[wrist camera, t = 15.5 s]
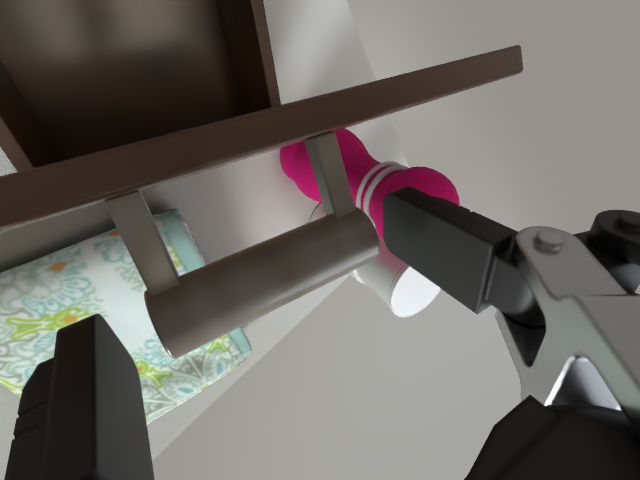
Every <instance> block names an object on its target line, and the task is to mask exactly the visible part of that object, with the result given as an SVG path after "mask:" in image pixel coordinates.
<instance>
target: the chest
mask: <svg viewBox="0 0 640 480" xmlns="http://www.w3.org/2000/svg"><path fill="white" fill-rule="evenodd" d="M280 105H281V102H280V97H279V91H278V85H277V79H276V74H275V68H274V62H273V56H272V51H271V45H270V39H269V33H268V27H267V22H266V16H265V10H264V4H263V0H0V147H1V148H2V150H3V151H4V153H5V154H6V156H7V157H8V159H9V160H10V161H11V163H12V164H13V166H14V167H15V169H16V170H17V172H20V171H24V170H28V169H32V168H36V167H40V166H44V165H48V164H51V163H55V162H59V161H63V160H67V159H71V158H75V157H79V156H83V155H87V154H91V153H95V152H99V151H103V150H107V149H110V148H114V147H118V146H122V145H126V144H130V143H134V142H138V141H142V140H146V139H150V138H154V137H158V136H162V135H166V134H169V133H173V132H177V131H181V130H185V129H189V128H193V127H197V126H201V125H205V124H209V123H213V122H217V121H221V120H225V119H228V118H232V117H236V116H240V115H244V114H248V113H252V112H256V111H260V110H264V109H268V108H272V107H276V106H280Z"/></svg>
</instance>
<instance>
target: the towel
mask: <svg viewBox="0 0 640 480" xmlns="http://www.w3.org/2000/svg"><path fill="white" fill-rule="evenodd" d="M152 217H153V219H154V221H155V223H156V225H157V228H158V230H159V232H160V234H161V236H162V239H163V241H164V243H165V245H166V247H167V250H168V252H169V254H170V256H171V258H172V261H173V263H174V265H175V267H176V269H177V272H178V274H179V276H181V275H183V274H186V273H188V272H190V271H193V270H195V269H198V268H200V267H203V266H205V265H207V264H206V262H205V260H204V258H203V256H202V254H201V253H200V251H199V250H198V248H197V246H196V244H195V242H194V240H193V238H192V235H191V231H190V229H189V228H188V226H187V224H186V222H185V221H184V219H182V218H181V216H180V214H179V210H178V209H171V210H168V211H165V212H163V213H160V214H154V215H152ZM146 290H147V288H146V286H145V284H144V282H143V280H142V278H141V276H140V274H139V272H138V270H137V268H136V266H135V264H134V262H133V260H132V258H131V256H130V254H129V251H128V249H127V247H126V245H125V243H124V241H123V239H122V237H121V235H120V233H119V231H118V229H117V228H115V229H112V230H110V231H107V232H105V233H102V234H100V235H97V236H94V237H92V238H89V239H87V240H84V241H81V242H79V243H76V244H74V245H72V246H69V247H67V248H64V249H61V250H58V251H56V252H53V253H51V254H49V255H46V256H43V257H41V258H39V259H36V260H34V261H31V262H28V263H26V264H23V265H20V266H17V267H15V268H12V269H9V270H6V271H4V272H1V273H0V384H1V385H3V386H4V387H6V388H7V389H9V390H10V391H12V392H13V393H15V394H16V395H18V396H19V397H21V394H22V389H23V388H24V386H25V384H26V383H27V381H28V380H29V378H30V376H31V375H32V373H33V372H34V370H35V368H36V367H37V365H38V364H39V363H42V362H44V361H46V360H48V359H51V358H53V357H54V350H55V342H56V334H57V331H58V330H59V329H61V328H63V327H65V326H68V325H70V324H73V323H75V322H77V321H80V320H82V319H85V318H87V317H89V316H92V315H94V314H97V313H98V314H100V315H101V316H102V317H103V318H104V319H105V320H106V322H107V323H108V324H109V326H110V327H111V329H112V330H113V331H114V333H115V334H116V336H117V337H118V338H119V340H120V341H121V342H122V344H123V345H124V347H125V348H126V349H127V351H128V352H129V354H130V355H131V357H132V359H133V360H134V363H135V365H136V367H137V370H138V373H139V377H140V382H141V389H142V396H143V403H144V410H145V417H146V424H149V423H151V422H152V421H154V420H155V419H157V418H158V417H160V416H162V415H163V414H165V413H166V412H168V411H170V410H171V409H173V408H175V407H177V406H178V405H180V404H182V403H183V402H185V401H186V400H188V399H189V398H191V397H193V396H194V395H196V394H197V393H199V392H200V391H202V390H203V389H204V388H206V387H207V386H209V385H210V384H212V383H213V382H215V381H217V380H218V379H220V378H222V377H223V376H225V375H226V374H228V373H230V372H231V371H233V370H235V369H236V368H238V367H239V366H241V365H242V363H243V362H244V361H245V360H246V356H247V355H249V353H250V352H251V351H252V348H251V345H250V343H249V341H248V339H247V337H246V335H245V333H244V331H243V329H242V328H241V327H239V328H237V329H235V330H233V331H231V332H229V333H227V334H225V335H223V336H221V337H219V338H217V339H215V340H213V341H211V342H209V343H207V344H205V345H203V346H201V347H199V348H197V349H195V350H193V351H191V352H189V353H187V354H185V355H183V356H181V357H179V358H177V359H173V358H171V357H170V356H169V355H168V353H167V352H166V350H165V349H164V347H163V345H162V344H161V342H160V340H159V338H158V336H157V334H156V332H155V329H154V327H153V325H152V322H151V320H150V317H149V314H148V311H147V308H146V305H145V300H144V292H145V291H146Z"/></svg>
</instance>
